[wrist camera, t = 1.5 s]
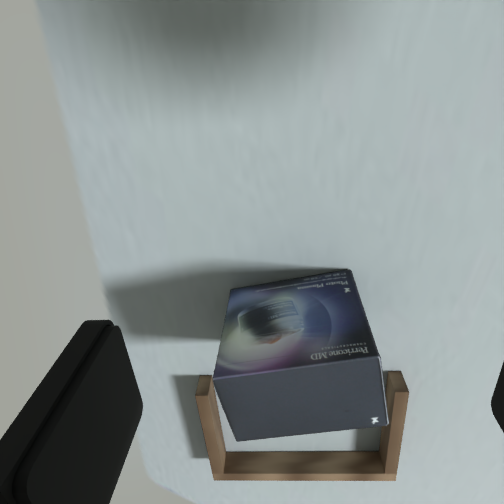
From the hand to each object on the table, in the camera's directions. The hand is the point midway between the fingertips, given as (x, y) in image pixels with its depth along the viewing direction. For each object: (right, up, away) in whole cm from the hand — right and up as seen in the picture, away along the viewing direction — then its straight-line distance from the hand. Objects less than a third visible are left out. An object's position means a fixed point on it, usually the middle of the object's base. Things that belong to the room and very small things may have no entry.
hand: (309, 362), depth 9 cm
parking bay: (+4, -14, +30) cm, 34 cm away
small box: (+2, -2, +24) cm, 24 cm away
